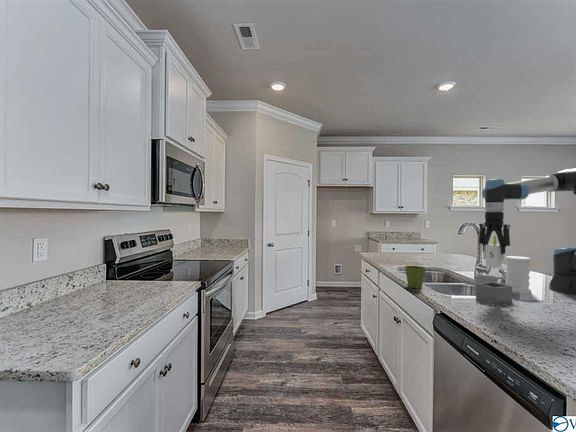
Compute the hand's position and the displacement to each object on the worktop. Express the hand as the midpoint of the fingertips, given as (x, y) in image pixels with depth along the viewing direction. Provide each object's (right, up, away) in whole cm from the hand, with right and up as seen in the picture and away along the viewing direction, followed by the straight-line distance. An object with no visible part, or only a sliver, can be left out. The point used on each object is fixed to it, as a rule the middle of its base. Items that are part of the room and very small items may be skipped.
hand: (493, 259), depth 154 cm
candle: (0, -4, 0) cm, 4 cm away
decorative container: (+24, -19, +18) cm, 36 cm away
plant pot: (-27, -20, +27) cm, 43 cm away
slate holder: (0, -20, 0) cm, 20 cm away
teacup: (+9, -20, +18) cm, 28 cm away
